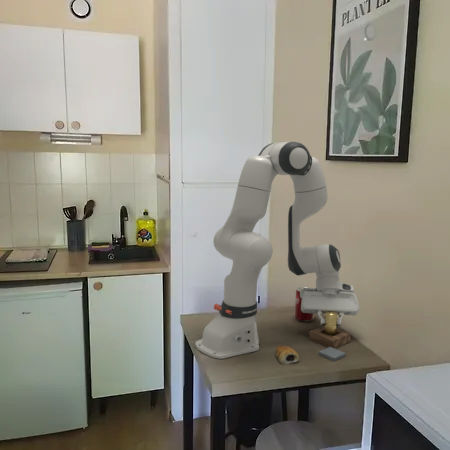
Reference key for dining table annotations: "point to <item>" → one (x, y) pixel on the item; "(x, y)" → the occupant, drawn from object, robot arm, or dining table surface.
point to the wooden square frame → (330, 341)
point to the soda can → (298, 313)
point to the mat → (332, 353)
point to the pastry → (286, 355)
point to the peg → (330, 323)
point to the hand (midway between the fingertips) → (330, 324)
